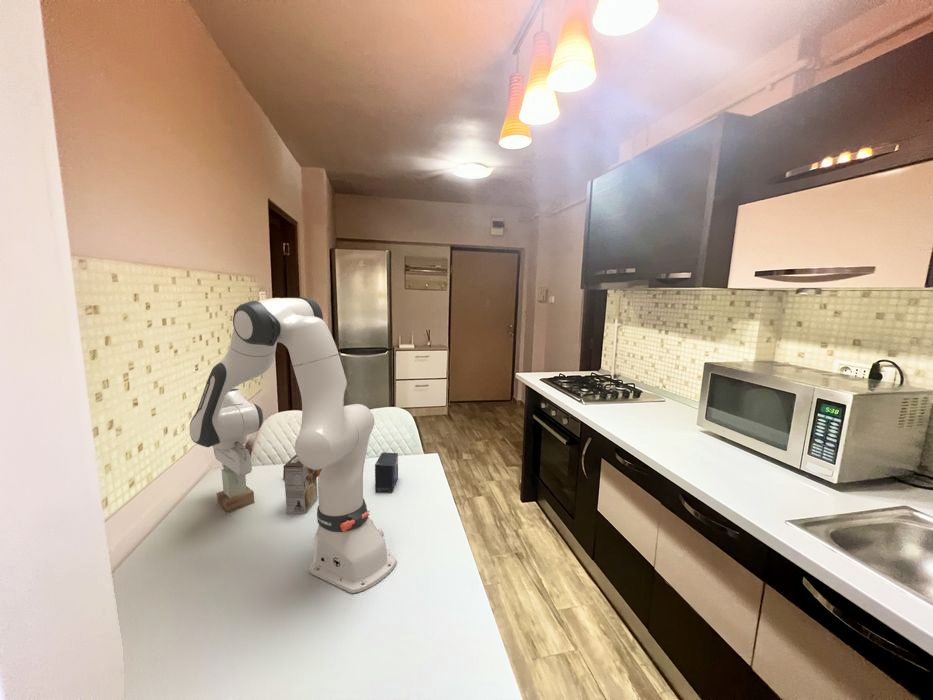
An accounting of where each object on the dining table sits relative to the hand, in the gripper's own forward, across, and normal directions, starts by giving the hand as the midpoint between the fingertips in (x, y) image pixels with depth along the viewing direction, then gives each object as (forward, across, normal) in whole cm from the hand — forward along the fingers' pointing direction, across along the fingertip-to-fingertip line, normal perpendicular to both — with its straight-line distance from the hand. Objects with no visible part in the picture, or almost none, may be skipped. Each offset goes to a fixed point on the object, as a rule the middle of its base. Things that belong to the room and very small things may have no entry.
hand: (234, 479), depth 123 cm
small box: (+9, -29, -39) cm, 49 cm away
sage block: (+4, 0, 0) cm, 4 cm away
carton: (+9, 0, -26) cm, 27 cm away
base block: (+8, 0, 0) cm, 8 cm away
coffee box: (+9, -18, -13) cm, 24 cm away
